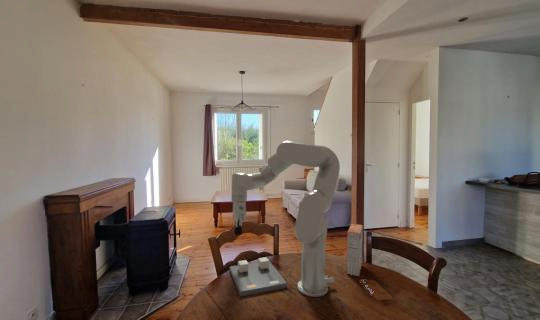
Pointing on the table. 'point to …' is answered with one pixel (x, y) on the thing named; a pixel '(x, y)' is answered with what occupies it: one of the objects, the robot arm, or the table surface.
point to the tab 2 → (263, 263)
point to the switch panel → (257, 279)
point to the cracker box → (354, 249)
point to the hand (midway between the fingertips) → (238, 234)
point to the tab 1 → (243, 266)
